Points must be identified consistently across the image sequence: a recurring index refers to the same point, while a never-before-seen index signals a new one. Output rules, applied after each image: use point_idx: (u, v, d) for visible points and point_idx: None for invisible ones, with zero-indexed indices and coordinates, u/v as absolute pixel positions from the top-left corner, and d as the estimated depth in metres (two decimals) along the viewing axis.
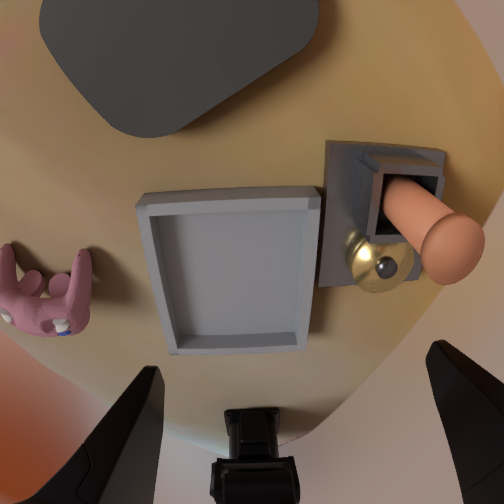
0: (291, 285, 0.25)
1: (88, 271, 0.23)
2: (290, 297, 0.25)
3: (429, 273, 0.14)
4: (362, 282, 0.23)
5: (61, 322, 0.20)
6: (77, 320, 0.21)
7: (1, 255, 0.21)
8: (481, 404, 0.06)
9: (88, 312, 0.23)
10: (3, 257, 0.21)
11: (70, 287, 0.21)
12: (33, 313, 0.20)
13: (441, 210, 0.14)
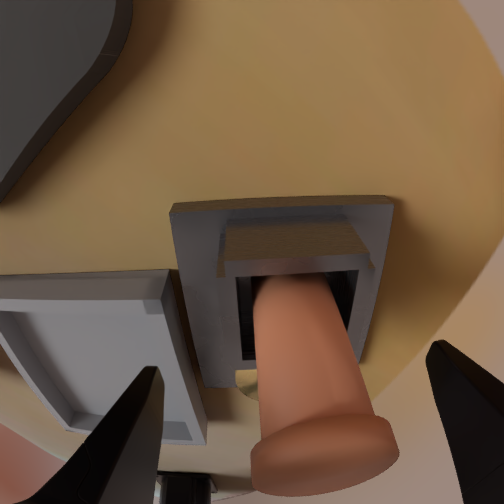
0: None
1: None
2: None
3: (267, 492, 0.07)
4: (255, 394, 0.16)
5: None
6: None
7: None
8: (481, 404, 0.06)
9: None
10: None
11: None
12: None
13: (308, 390, 0.07)
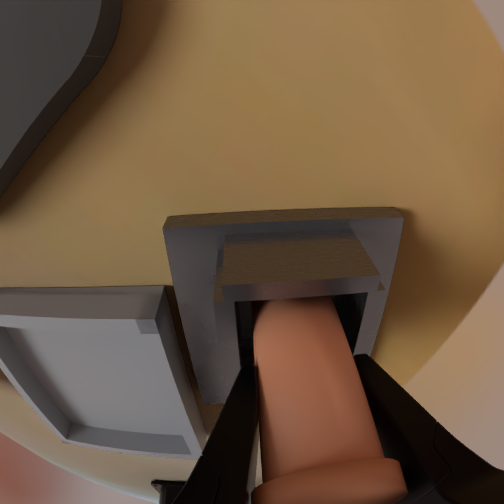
0: None
1: None
2: None
3: None
4: None
5: None
6: None
7: None
8: (392, 432, 0.06)
9: None
10: None
11: None
12: None
13: (314, 432, 0.06)
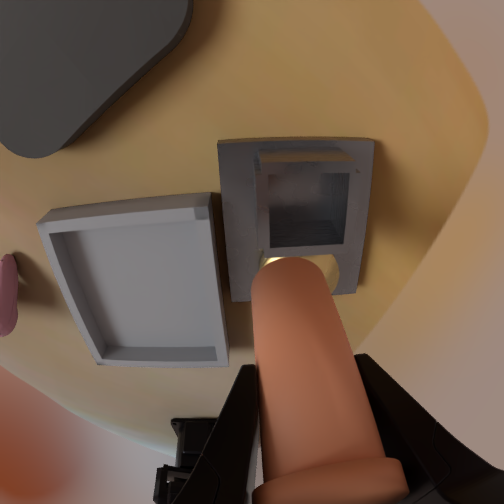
0: (203, 299, 0.23)
1: (11, 275, 0.20)
2: (204, 311, 0.24)
3: None
4: None
5: None
6: (3, 322, 0.19)
7: None
8: (392, 432, 0.06)
9: (15, 315, 0.21)
10: None
11: None
12: None
13: (315, 432, 0.06)
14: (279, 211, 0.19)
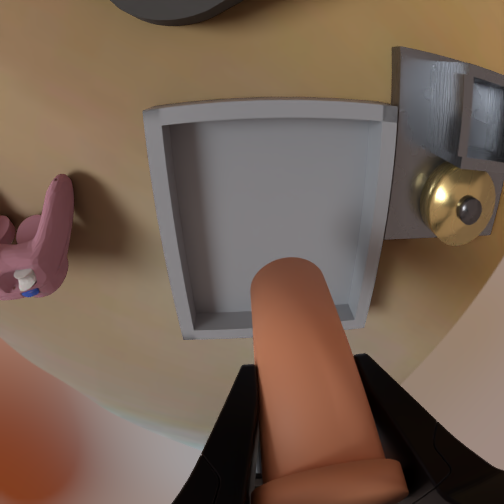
0: (350, 237, 0.18)
1: (67, 202, 0.15)
2: (347, 254, 0.19)
3: None
4: (441, 230, 0.16)
5: (24, 274, 0.13)
6: (48, 272, 0.14)
7: None
8: (392, 432, 0.06)
9: (65, 263, 0.16)
10: None
11: (40, 224, 0.14)
12: None
13: (314, 432, 0.06)
14: None
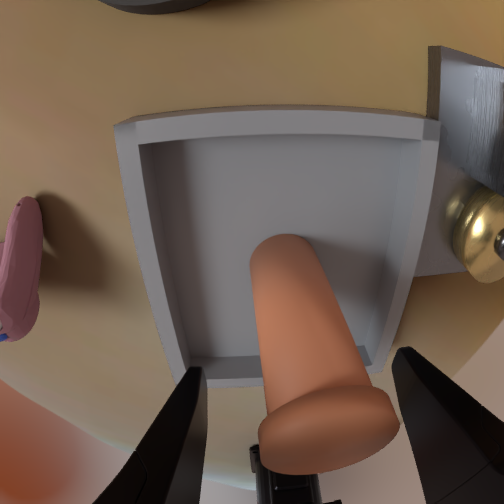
0: (372, 275, 0.15)
1: (33, 231, 0.12)
2: (367, 294, 0.16)
3: (274, 470, 0.07)
4: (476, 267, 0.13)
5: None
6: (14, 316, 0.11)
7: None
8: (443, 418, 0.06)
9: (35, 303, 0.13)
10: None
11: (2, 259, 0.11)
12: None
13: (311, 366, 0.08)
14: None
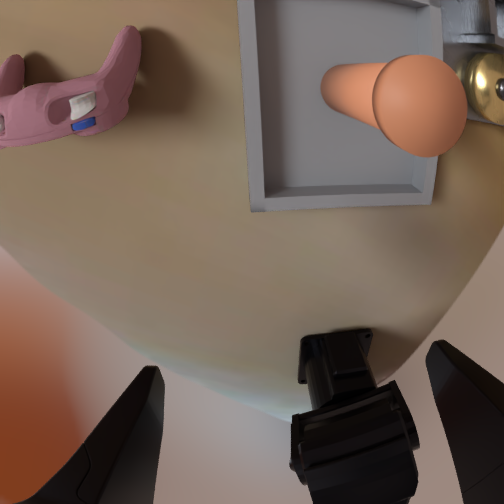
0: None
1: (138, 46, 0.14)
2: None
3: (390, 132, 0.09)
4: (487, 105, 0.14)
5: (84, 95, 0.12)
6: (111, 99, 0.13)
7: (8, 60, 0.12)
8: (481, 404, 0.06)
9: (127, 103, 0.14)
10: (10, 62, 0.12)
11: (108, 56, 0.12)
12: (40, 92, 0.11)
13: None
14: None
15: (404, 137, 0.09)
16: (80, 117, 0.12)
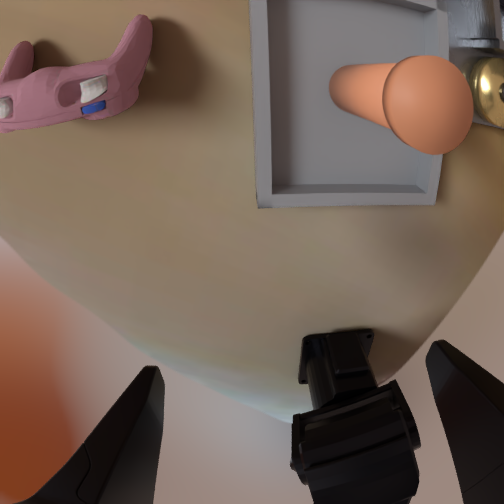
0: None
1: (149, 34, 0.14)
2: None
3: (399, 129, 0.09)
4: (490, 108, 0.15)
5: (95, 78, 0.12)
6: (122, 83, 0.13)
7: (18, 46, 0.12)
8: (481, 404, 0.06)
9: (137, 89, 0.14)
10: (20, 48, 0.12)
11: (120, 43, 0.12)
12: (51, 74, 0.11)
13: None
14: None
15: (413, 134, 0.09)
16: (90, 100, 0.12)
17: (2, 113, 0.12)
